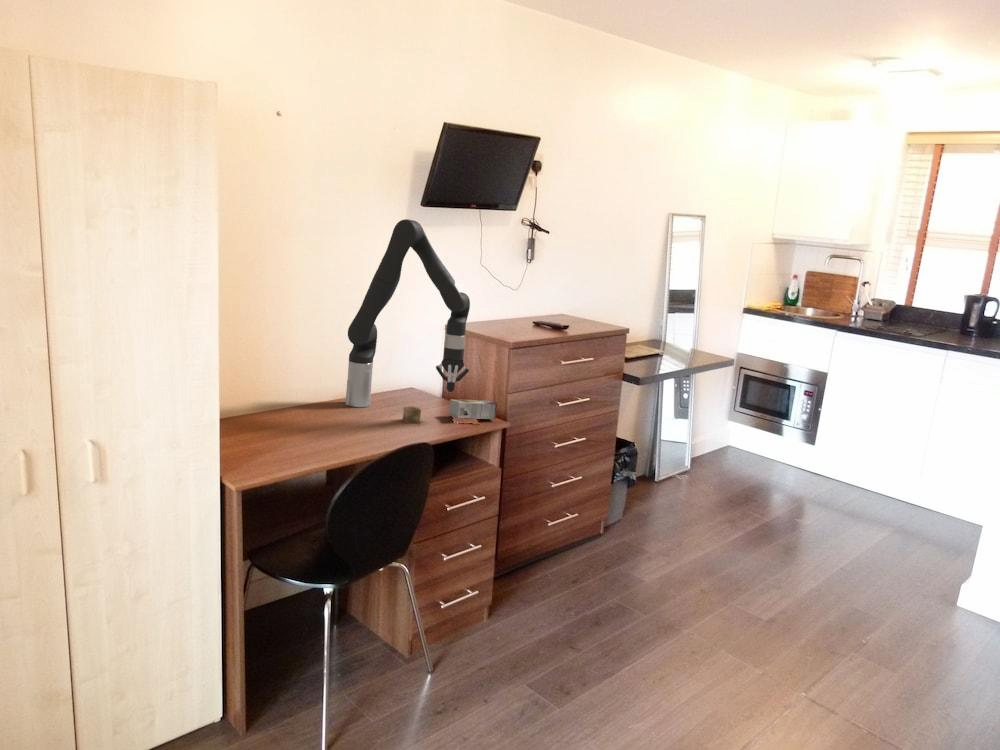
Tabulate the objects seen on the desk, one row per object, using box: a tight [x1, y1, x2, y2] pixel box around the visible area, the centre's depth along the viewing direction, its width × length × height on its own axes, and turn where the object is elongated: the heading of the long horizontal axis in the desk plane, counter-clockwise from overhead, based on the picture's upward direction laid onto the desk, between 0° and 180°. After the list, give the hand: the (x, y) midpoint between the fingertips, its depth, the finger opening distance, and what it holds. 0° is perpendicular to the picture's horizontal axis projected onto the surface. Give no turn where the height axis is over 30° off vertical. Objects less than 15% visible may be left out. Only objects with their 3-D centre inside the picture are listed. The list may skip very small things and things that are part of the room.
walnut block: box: [402, 406, 422, 424], centre depth 261 cm, size 5×5×5 cm
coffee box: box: [448, 399, 498, 420], centre depth 273 cm, size 9×6×16 cm
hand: (450, 391), depth 267 cm, fingers closed
